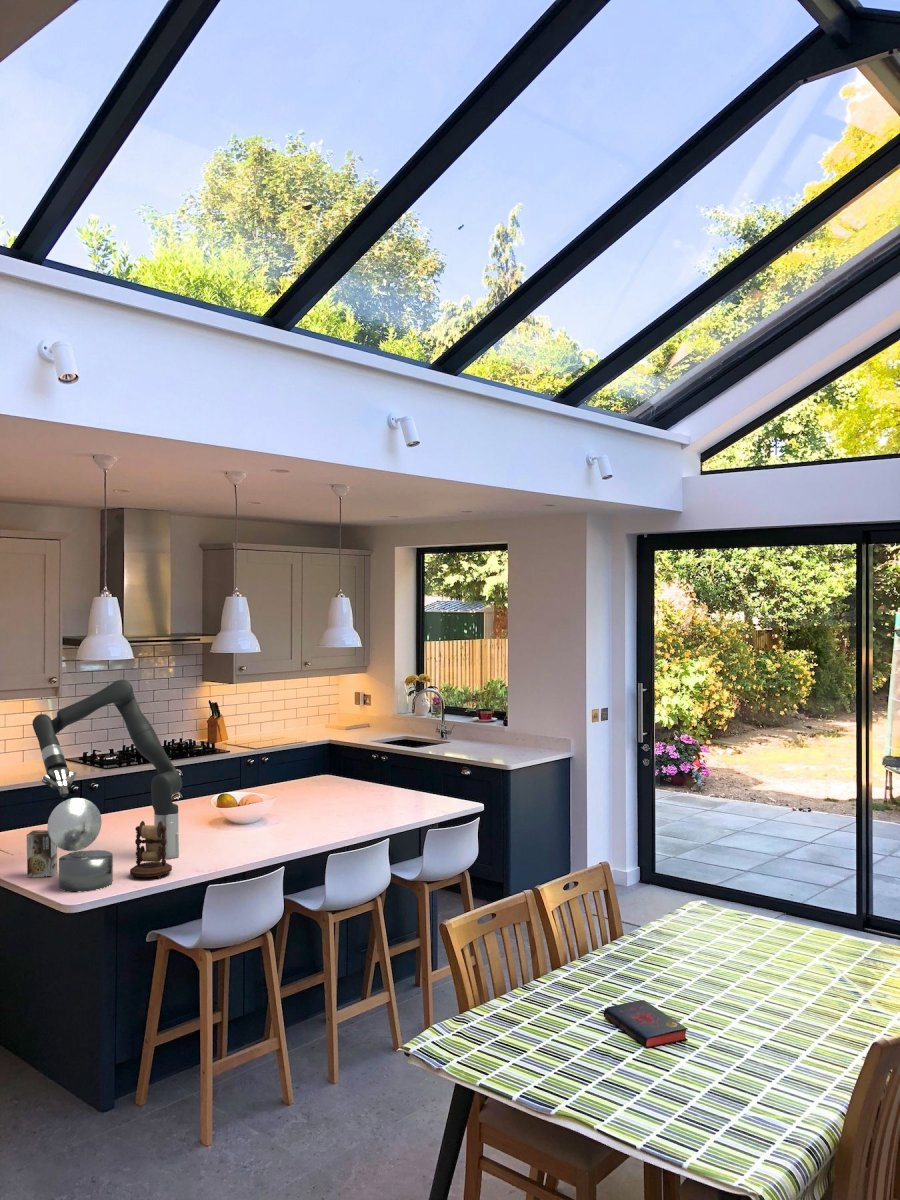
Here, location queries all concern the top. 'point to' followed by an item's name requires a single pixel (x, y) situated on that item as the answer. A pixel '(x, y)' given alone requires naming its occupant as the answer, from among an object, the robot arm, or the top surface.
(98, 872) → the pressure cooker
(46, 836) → the coffee box
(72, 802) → the lid
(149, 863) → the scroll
